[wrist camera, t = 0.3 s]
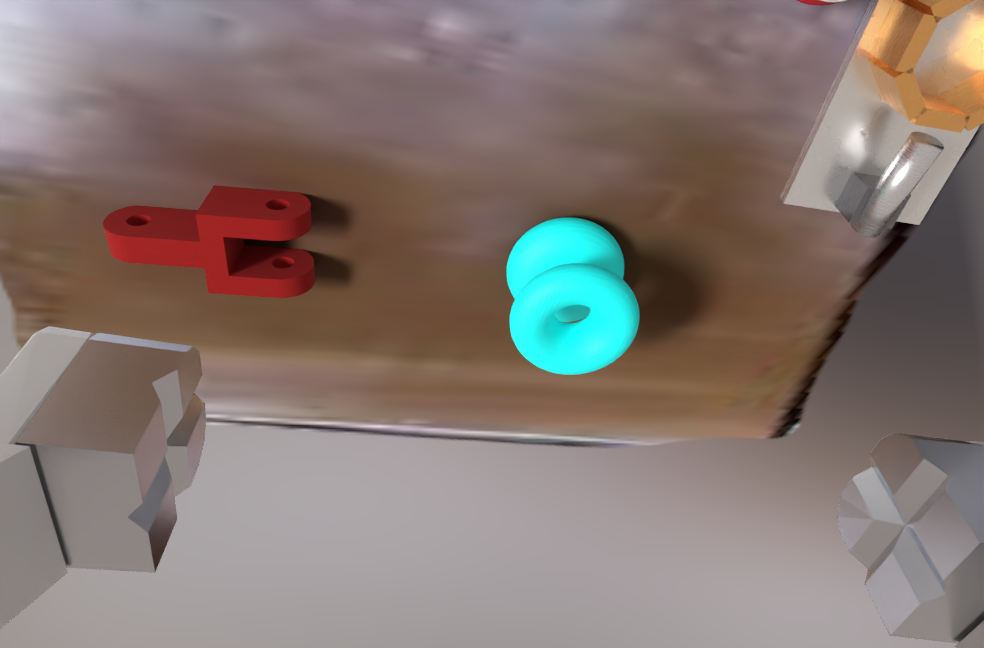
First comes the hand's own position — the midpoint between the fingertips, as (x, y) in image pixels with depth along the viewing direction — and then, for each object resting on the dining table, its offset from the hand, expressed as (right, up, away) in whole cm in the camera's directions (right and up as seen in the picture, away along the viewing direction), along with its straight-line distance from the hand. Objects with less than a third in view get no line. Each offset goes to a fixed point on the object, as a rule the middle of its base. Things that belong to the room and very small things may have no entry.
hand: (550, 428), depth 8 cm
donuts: (+6, +7, +53) cm, 54 cm away
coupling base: (+31, +22, +42) cm, 57 cm away
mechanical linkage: (-23, +10, +51) cm, 57 cm away
